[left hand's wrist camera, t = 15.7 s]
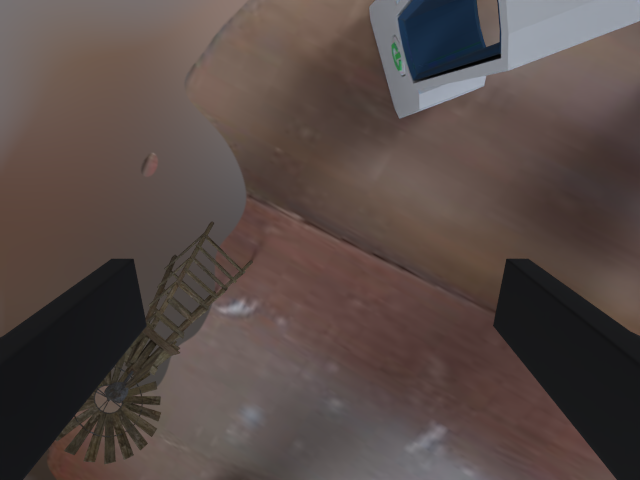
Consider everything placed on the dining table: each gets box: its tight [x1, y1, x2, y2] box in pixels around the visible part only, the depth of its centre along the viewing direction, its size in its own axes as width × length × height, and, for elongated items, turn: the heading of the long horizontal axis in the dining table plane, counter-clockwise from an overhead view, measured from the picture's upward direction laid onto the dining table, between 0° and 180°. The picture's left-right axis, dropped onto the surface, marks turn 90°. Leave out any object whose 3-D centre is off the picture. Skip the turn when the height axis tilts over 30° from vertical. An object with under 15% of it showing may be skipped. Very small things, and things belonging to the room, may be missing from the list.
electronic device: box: [369, 0, 640, 119], centre depth 28 cm, size 12×8×30 cm, turn 20°
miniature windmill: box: [55, 222, 253, 464], centre depth 37 cm, size 9×8×30 cm
